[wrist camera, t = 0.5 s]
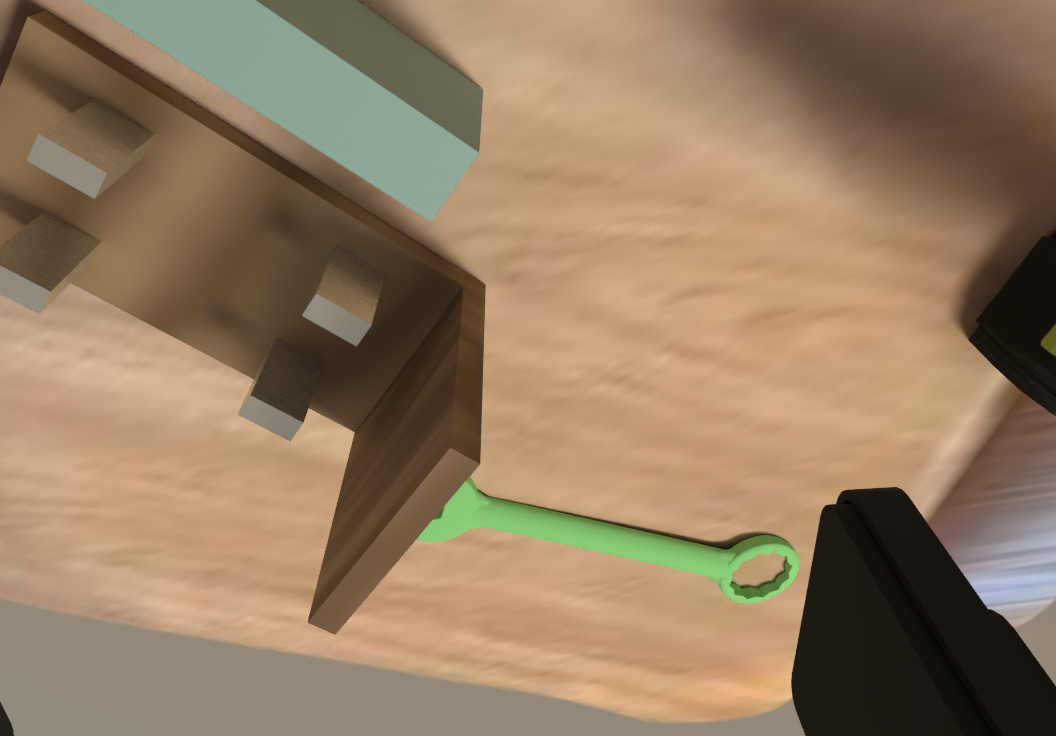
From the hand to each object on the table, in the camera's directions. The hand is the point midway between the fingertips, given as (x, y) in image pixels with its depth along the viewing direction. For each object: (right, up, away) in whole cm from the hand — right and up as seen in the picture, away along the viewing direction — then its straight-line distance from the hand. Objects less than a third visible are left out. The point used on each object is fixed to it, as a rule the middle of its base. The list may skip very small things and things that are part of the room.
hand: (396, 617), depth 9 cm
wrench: (+5, -6, +41) cm, 41 cm away
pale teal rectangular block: (-7, +17, +25) cm, 31 cm away
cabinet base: (-13, +9, +30) cm, 34 cm away
